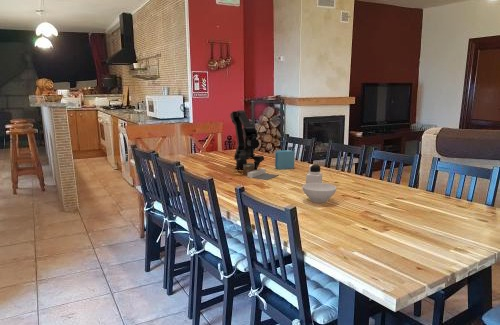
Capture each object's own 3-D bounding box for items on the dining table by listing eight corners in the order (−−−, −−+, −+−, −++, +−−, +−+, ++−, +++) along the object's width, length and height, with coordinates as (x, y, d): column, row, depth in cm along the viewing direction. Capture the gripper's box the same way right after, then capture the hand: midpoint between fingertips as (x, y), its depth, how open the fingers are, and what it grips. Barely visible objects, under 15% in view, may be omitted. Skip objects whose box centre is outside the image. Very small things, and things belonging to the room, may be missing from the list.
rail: (247, 177, 229) (247, 172, 228) (261, 172, 242) (261, 168, 241) (251, 178, 227) (251, 173, 227) (265, 173, 240) (265, 168, 240)
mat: (252, 177, 228) (252, 177, 228) (264, 173, 240) (264, 173, 240) (267, 180, 223) (267, 179, 223) (278, 175, 234) (278, 175, 234)
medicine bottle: (322, 185, 210) (322, 164, 207) (318, 188, 203) (319, 166, 201) (309, 184, 213) (310, 163, 210) (305, 187, 206) (306, 165, 204)
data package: (291, 167, 259) (292, 150, 257) (294, 168, 255) (294, 151, 253) (275, 168, 256) (275, 150, 253) (277, 169, 251) (277, 151, 249)
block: (243, 173, 239) (243, 164, 238) (249, 171, 245) (249, 162, 244) (248, 174, 237) (248, 165, 236) (254, 172, 243) (254, 163, 242)
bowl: (315, 207, 171) (315, 192, 169) (295, 198, 185) (295, 184, 183) (343, 203, 178) (343, 188, 177) (321, 194, 192) (322, 181, 191)
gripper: (229, 146, 236) (229, 171, 239) (254, 149, 226) (254, 174, 229) (239, 144, 245) (239, 168, 248) (264, 146, 235) (264, 171, 238)
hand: (249, 170), depth 241 cm, fingers open, 9 cm apart
